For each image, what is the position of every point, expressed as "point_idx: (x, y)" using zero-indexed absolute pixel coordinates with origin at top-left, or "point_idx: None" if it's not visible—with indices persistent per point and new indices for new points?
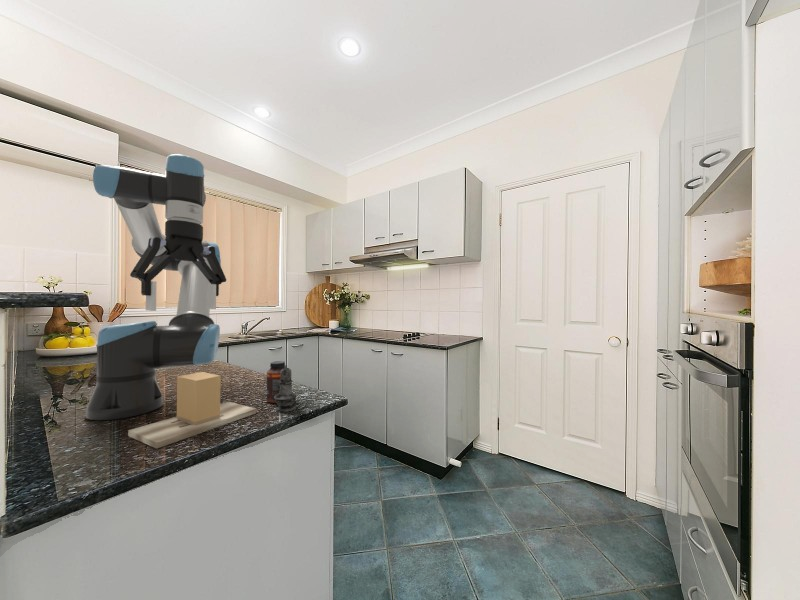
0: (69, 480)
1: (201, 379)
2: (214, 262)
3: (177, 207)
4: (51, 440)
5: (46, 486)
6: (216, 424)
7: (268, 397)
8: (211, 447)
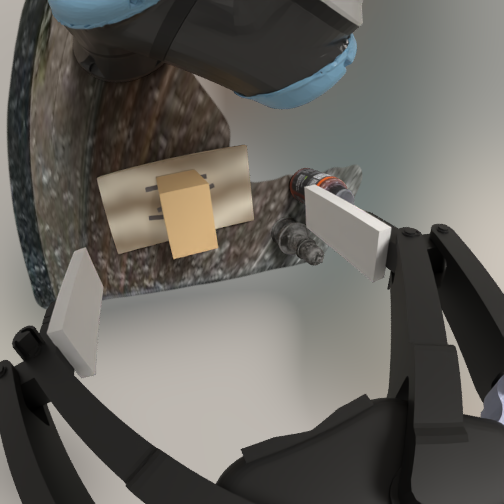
0: (55, 270)
1: (183, 255)
2: (464, 355)
3: None
4: (32, 121)
5: (42, 269)
6: None
7: (293, 188)
8: (164, 287)
